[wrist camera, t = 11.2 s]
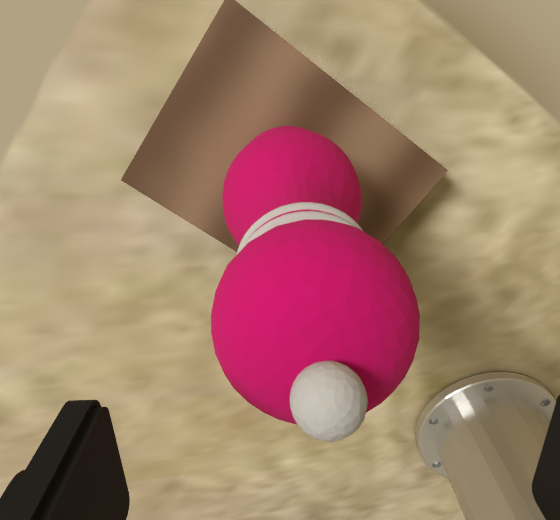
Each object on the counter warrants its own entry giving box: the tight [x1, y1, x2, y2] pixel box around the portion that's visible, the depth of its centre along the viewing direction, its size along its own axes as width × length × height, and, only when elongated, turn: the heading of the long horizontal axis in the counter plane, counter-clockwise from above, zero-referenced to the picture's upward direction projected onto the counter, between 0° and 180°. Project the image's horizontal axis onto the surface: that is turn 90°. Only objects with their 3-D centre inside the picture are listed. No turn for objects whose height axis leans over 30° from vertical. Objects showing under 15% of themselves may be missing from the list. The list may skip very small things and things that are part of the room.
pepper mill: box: [211, 126, 420, 442], centre depth 19 cm, size 7×7×20 cm
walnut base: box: [121, 0, 448, 252], centre depth 29 cm, size 16×12×3 cm
